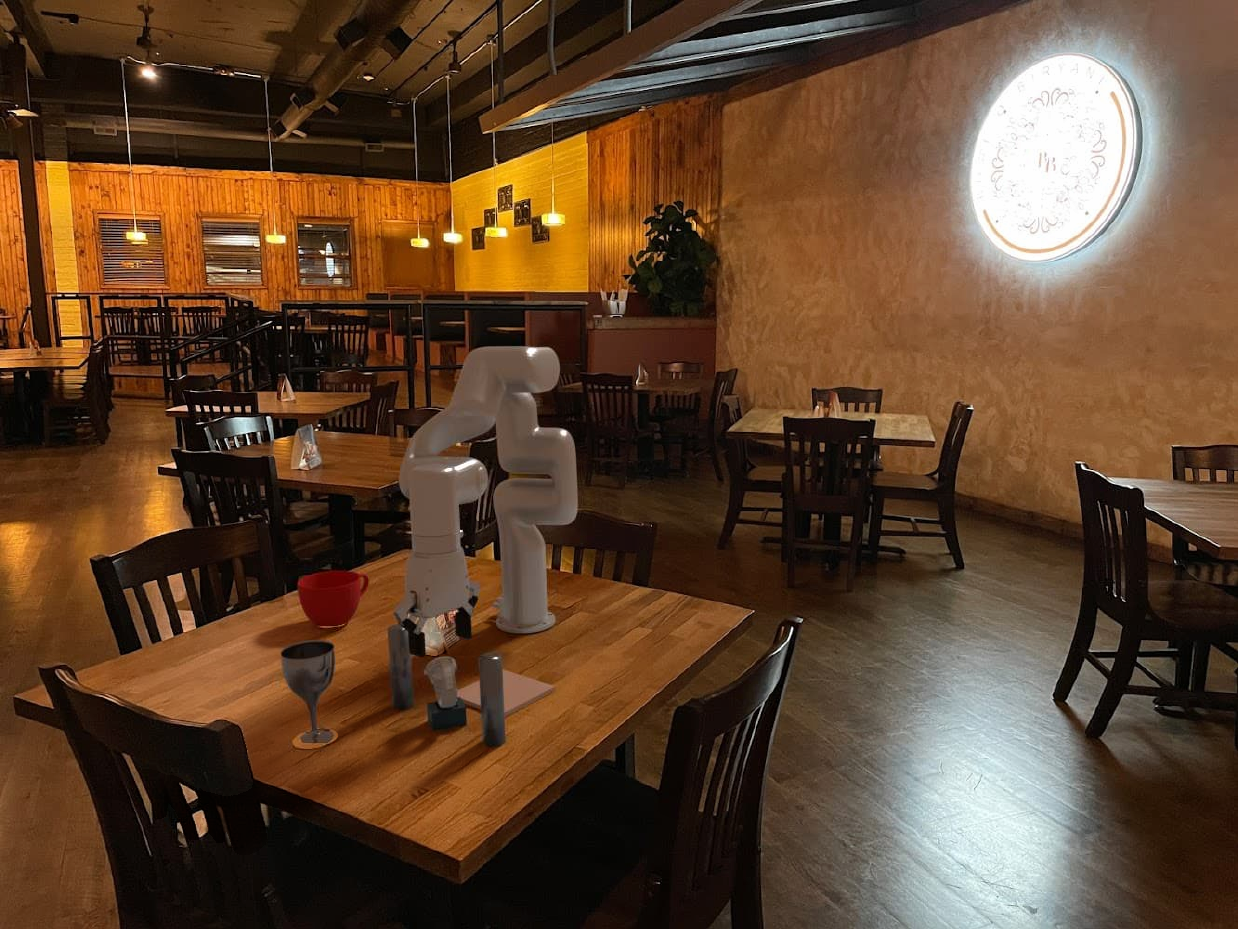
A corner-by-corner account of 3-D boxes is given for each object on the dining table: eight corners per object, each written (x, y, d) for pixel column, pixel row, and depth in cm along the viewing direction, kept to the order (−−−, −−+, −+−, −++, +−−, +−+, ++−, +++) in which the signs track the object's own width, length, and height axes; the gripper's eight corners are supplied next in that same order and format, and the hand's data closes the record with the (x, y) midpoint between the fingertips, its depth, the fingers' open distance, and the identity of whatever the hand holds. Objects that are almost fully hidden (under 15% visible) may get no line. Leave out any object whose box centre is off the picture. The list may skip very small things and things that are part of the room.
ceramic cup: (389, 614, 198) (386, 571, 196) (328, 638, 184) (324, 592, 182) (350, 604, 205) (346, 563, 203) (288, 627, 191) (284, 583, 189)
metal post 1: (388, 706, 152) (382, 628, 150) (405, 698, 155) (400, 622, 153) (401, 711, 150) (396, 633, 148) (418, 704, 153) (413, 626, 150)
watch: (458, 709, 151) (455, 648, 149) (469, 729, 143) (466, 665, 141) (425, 715, 149) (421, 653, 147) (434, 736, 141) (430, 671, 139)
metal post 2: (477, 742, 139) (473, 658, 137) (494, 733, 142) (490, 650, 139) (494, 749, 137) (490, 663, 134) (510, 740, 140) (506, 656, 137)
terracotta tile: (449, 698, 155) (449, 694, 155) (502, 673, 165) (502, 669, 165) (503, 718, 147) (503, 713, 147) (555, 690, 157) (555, 686, 157)
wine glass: (296, 728, 145) (288, 641, 142) (346, 725, 146) (339, 638, 143) (282, 752, 137) (273, 660, 134) (335, 749, 138) (327, 658, 135)
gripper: (461, 529, 149) (465, 626, 152) (376, 551, 136) (382, 657, 139) (492, 535, 145) (496, 635, 148) (408, 558, 131) (414, 668, 134)
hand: (441, 646), depth 143 cm, fingers open, 9 cm apart
